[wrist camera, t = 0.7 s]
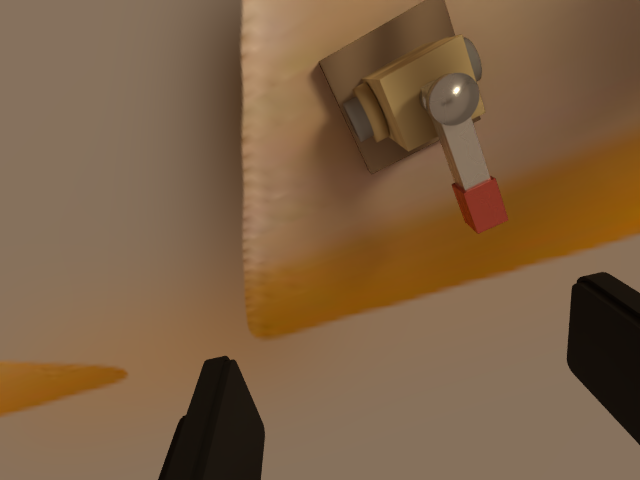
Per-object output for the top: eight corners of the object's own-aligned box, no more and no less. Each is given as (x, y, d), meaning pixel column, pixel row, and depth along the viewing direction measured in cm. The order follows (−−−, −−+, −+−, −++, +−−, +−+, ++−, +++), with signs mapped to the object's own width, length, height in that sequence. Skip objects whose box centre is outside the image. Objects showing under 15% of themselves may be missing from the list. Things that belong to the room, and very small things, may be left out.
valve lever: (406, 86, 22) (423, 88, 19) (447, 64, 21) (471, 62, 18) (457, 220, 25) (477, 239, 22) (492, 203, 25) (518, 221, 22)
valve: (434, -5, 27) (490, -39, 19) (472, 117, 31) (532, 132, 23) (318, 62, 29) (324, 56, 21) (368, 170, 33) (389, 201, 25)
